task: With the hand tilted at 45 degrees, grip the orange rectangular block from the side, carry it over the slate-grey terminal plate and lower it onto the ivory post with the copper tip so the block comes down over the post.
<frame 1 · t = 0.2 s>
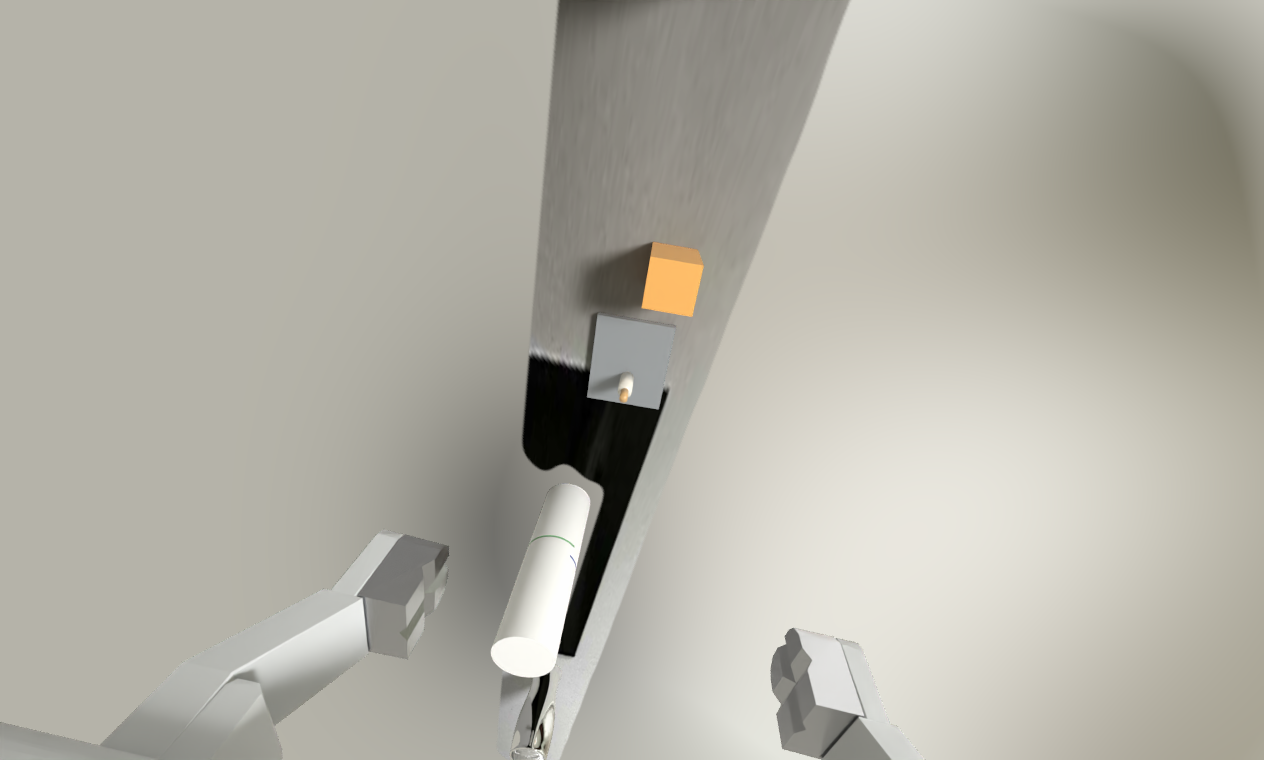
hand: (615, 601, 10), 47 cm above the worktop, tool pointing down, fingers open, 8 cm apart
orange rectangular block: (670, 268, 54), on the worktop
cylindrical container: (568, 500, 71), on the worktop
terminal plate: (630, 361, 59), on the worktop
pigtail post: (627, 374, 60), resting on terminal plate
beer glass: (548, 669, 92), on the worktop
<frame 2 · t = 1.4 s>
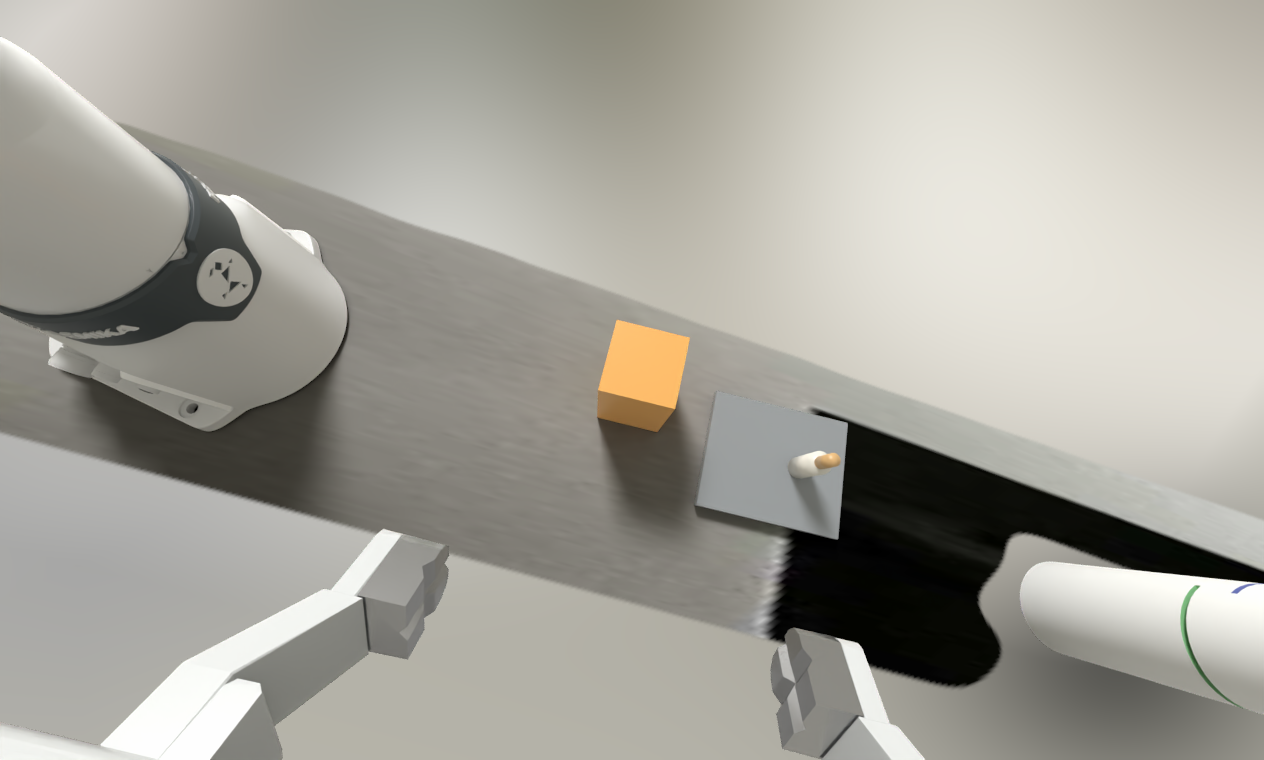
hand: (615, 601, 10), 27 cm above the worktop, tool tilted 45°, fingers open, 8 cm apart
orange rectangular block: (634, 396, 40), on the worktop
cylindrical container: (1058, 606, 37), on the worktop
terminal plate: (770, 463, 39), on the worktop
pigtail post: (792, 469, 39), resting on terminal plate
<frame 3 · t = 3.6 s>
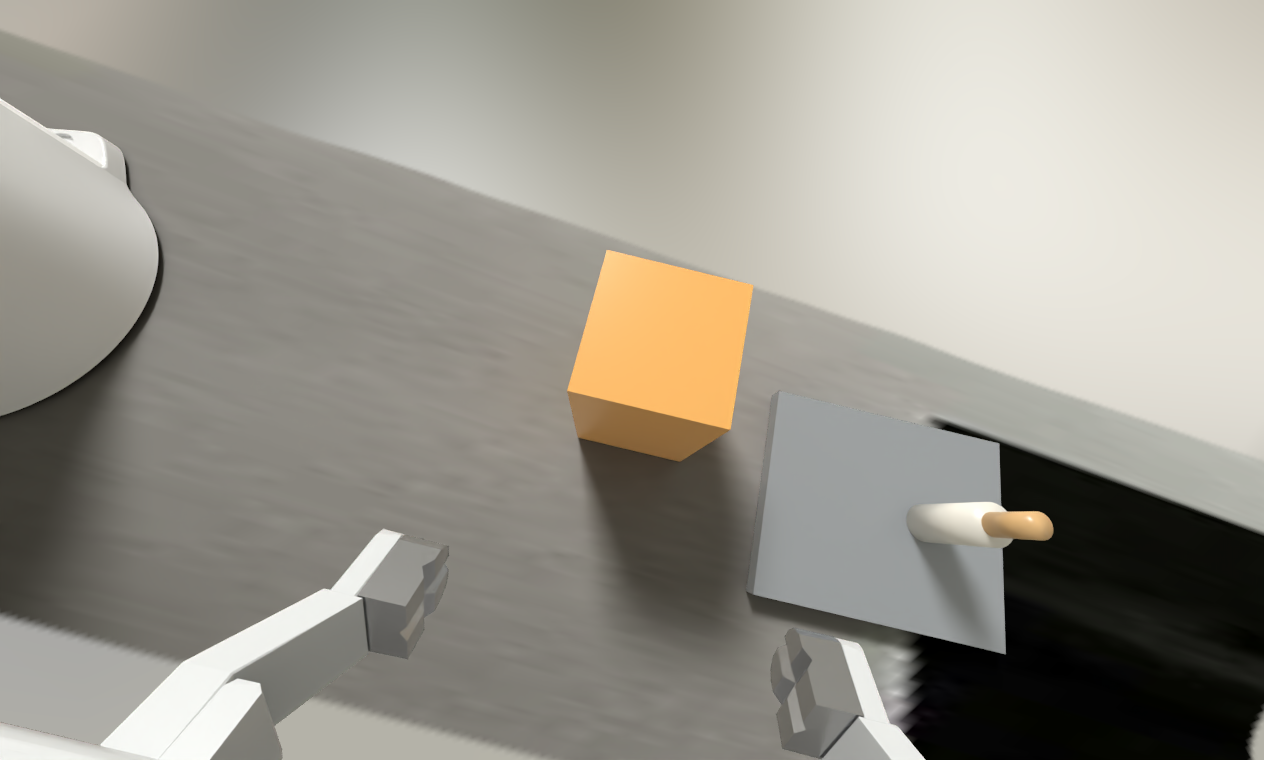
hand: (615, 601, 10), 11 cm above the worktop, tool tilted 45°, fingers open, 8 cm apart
orange rectangular block: (640, 400, 24), on the worktop
terminal plate: (872, 513, 23), on the worktop
pigtail post: (910, 522, 23), resting on terminal plate
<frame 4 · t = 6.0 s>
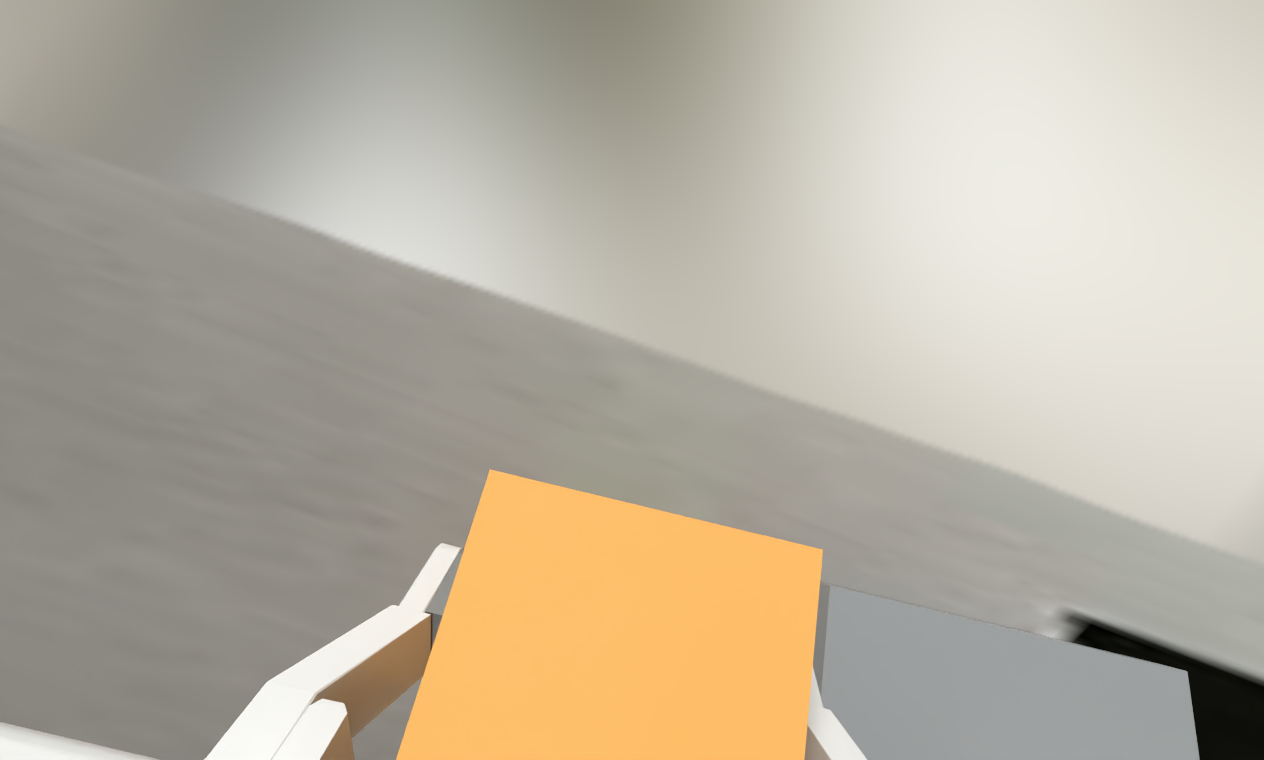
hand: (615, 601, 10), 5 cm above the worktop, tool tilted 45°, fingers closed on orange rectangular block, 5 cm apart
orange rectangular block: (605, 596, 15), on the worktop, touching gripper
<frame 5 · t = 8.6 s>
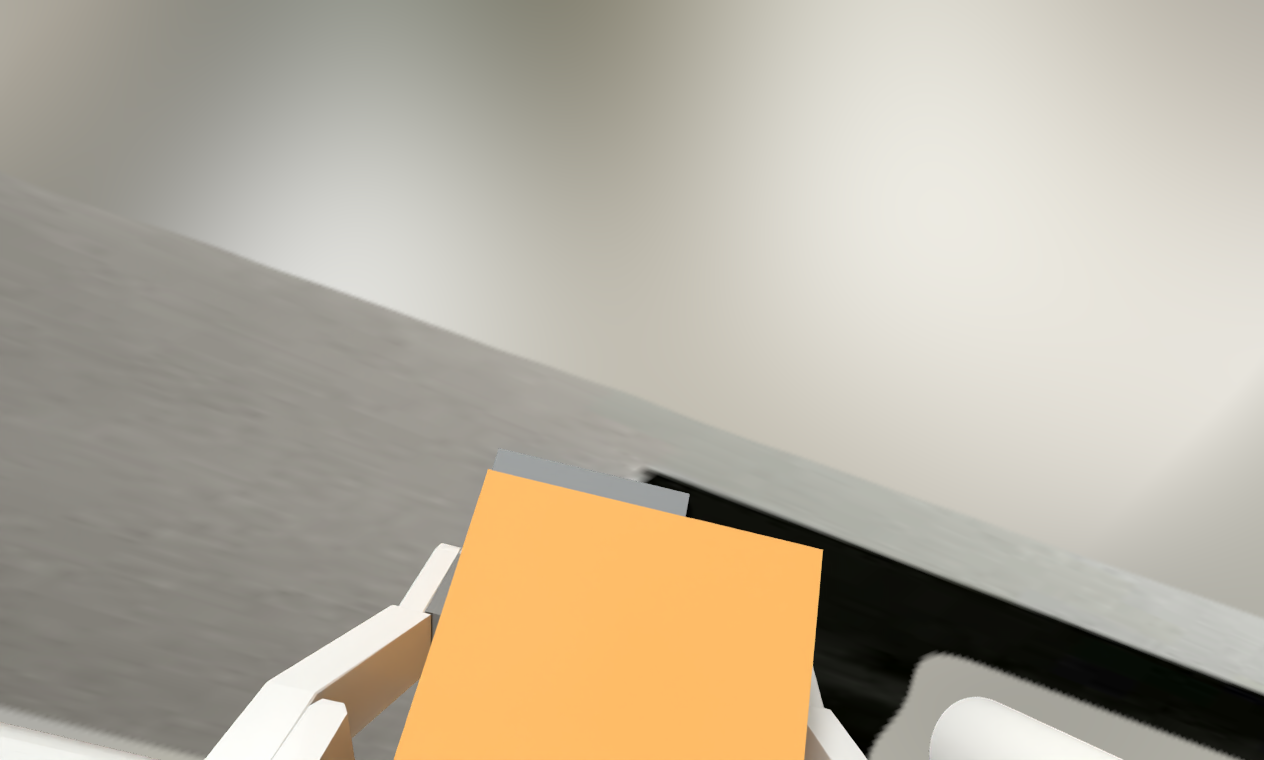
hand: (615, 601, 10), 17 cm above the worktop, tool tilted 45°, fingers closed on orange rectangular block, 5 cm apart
orange rectangular block: (605, 596, 15), point 12 cm above the worktop, touching gripper
terminal plate: (573, 555, 27), on the worktop
when the fingers open (8 cm above the worktop, at t = 11.3 s): orange rectangular block drops 2 cm, resting on terminal plate.
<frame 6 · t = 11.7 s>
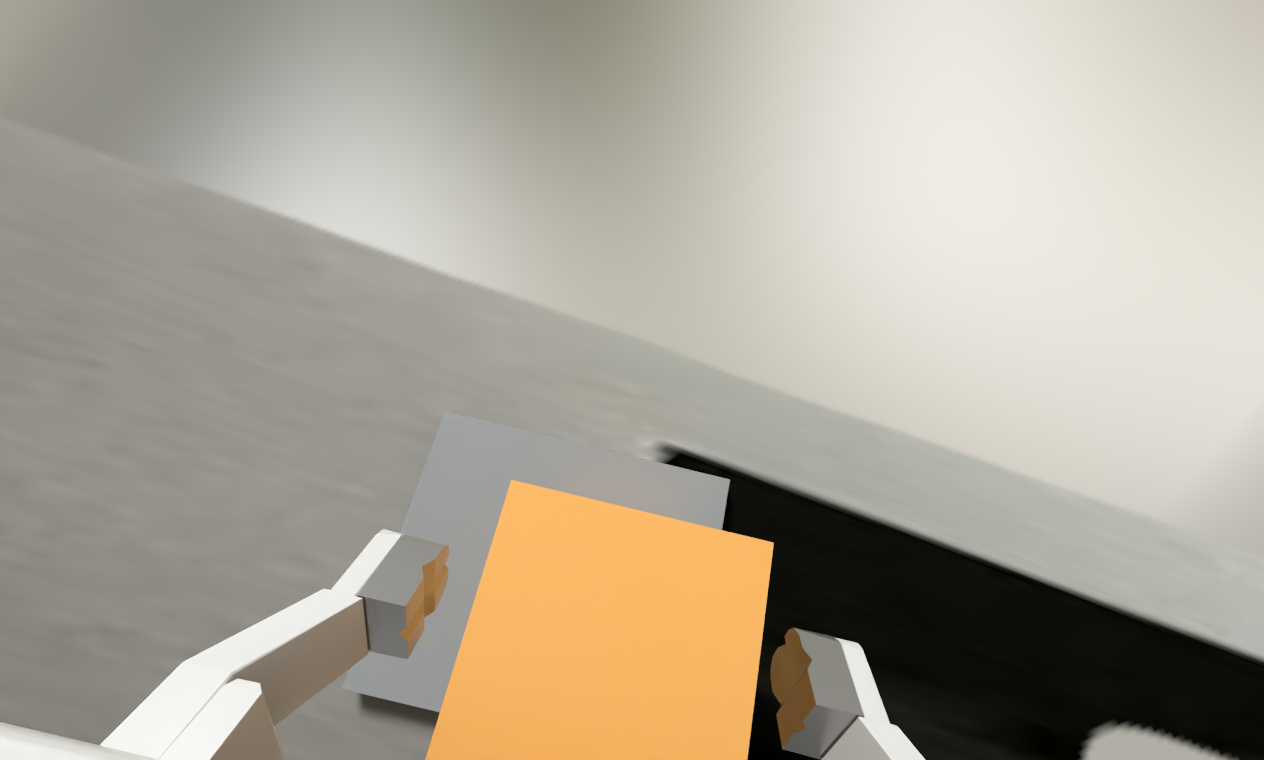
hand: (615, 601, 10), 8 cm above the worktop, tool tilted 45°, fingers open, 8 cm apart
orange rectangular block: (604, 586, 17), point 1 cm above the worktop, touching terminal plate
terminal plate: (556, 571, 18), on the worktop
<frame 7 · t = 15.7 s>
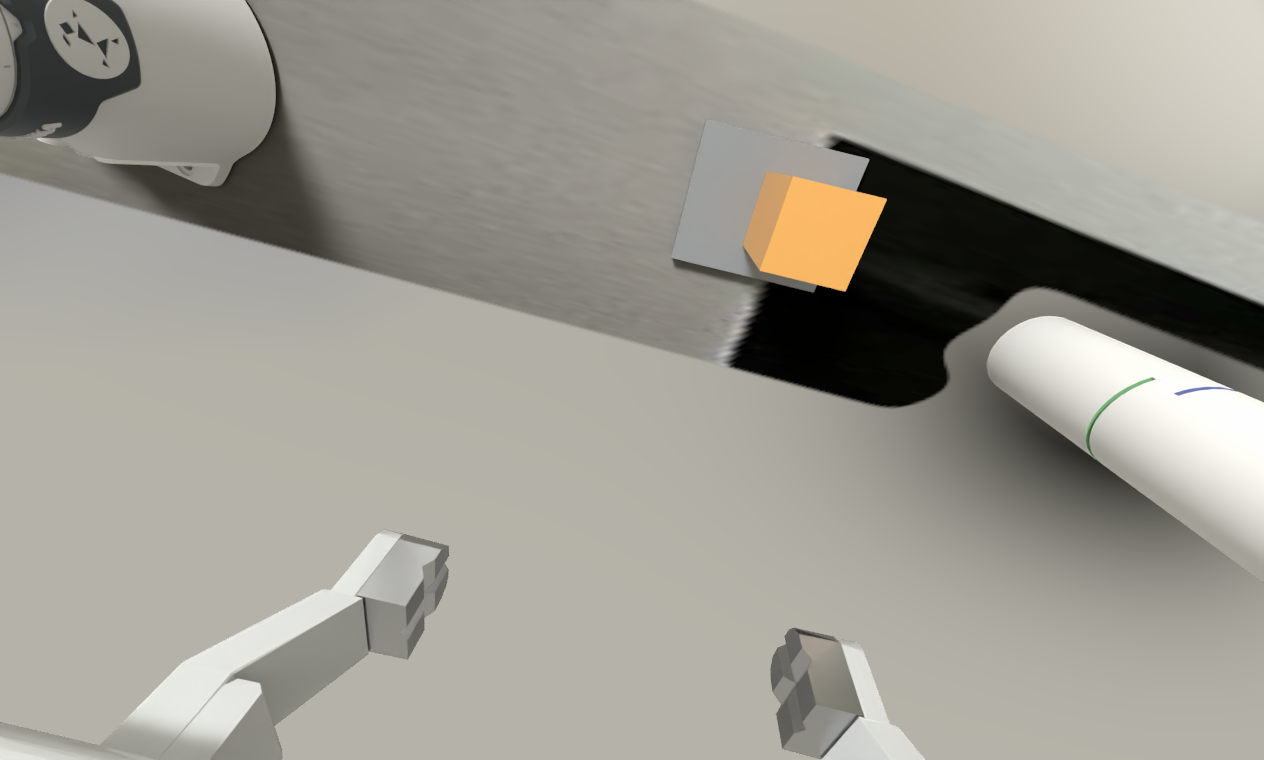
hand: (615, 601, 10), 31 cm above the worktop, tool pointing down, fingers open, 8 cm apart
orange rectangular block: (788, 217, 34), point 1 cm above the worktop, touching terminal plate
cylindrical container: (1032, 355, 38), on the worktop
terminal plate: (761, 210, 35), on the worktop
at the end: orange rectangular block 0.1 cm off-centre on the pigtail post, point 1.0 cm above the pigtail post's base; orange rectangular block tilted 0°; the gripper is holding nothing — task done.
